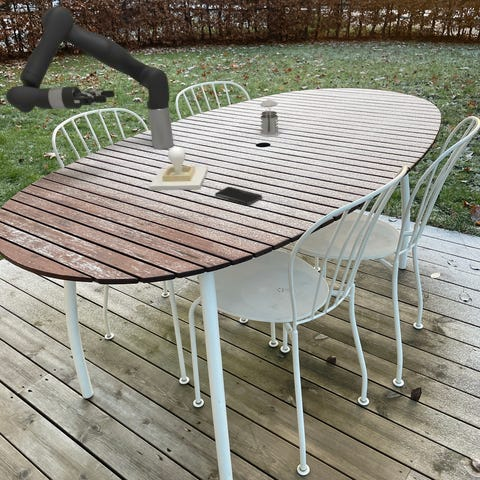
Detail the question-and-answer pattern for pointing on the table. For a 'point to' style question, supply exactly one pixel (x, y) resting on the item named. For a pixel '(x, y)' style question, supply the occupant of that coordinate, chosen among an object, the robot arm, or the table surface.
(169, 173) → the lamp base
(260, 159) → the table surface
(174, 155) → the lightbulb
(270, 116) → the french press
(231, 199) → the phone
